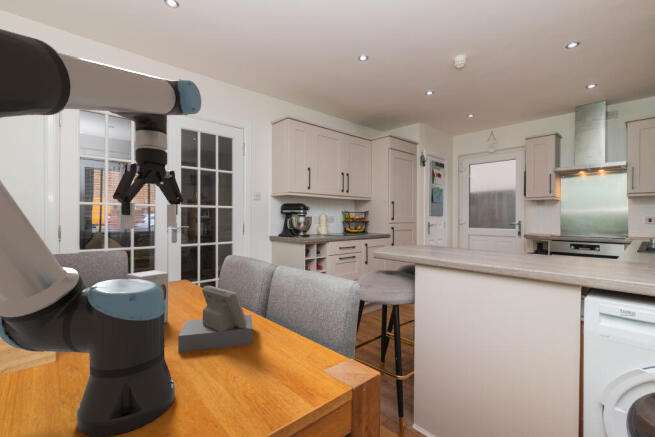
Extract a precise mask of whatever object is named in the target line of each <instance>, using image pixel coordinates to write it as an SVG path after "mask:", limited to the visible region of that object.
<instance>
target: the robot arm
mask: <svg viewBox="0 0 655 437" xmlns="http://www.w3.org/2000/svg"><path fill="white" fill-rule="evenodd" d="M201 108H202V96H201V93H200V90H199V87H198V86H197V84H196V83H195V82H194V81H192V80H188V79H185V80H184V79H181V78H180V79H175V80H172V79H167V78H162V77H158V76H153V75H149V74H145V73H141V72H138V71H135V70H134V71H133V70H129V69H124V68H121V67H117V66H113V65H109V64H104V63H101V62H99V61H98V62H97V61H93V60H89V59H85V58H81V57H77V56H74V55H73V56H72V55H68V54H64V53H61V52H58V51H57V49H55V48H54V47H53V46H52V45H50V44H49V43H47V42H45V41H43V40H42V39H41V40H40V39H37V38H34V37H30V36H27V35H23V34H19V33H16V32H13V31H10V30H5V29H2V28H0V119H1V118H8V117H9V118H10V117H11V118H12V117H21V116H53V115H57V114H59V113H61V112H63V111H65V110H79V111H81V110H82V111H101V112H110V113H111V114H114V115H117V116H119V117H122V118H124V119H127V120H130V121H132V122H133V123H134V124H135V126H134V128H135V131H134V132H135V134H134V135H135V136H134V138H135V140H134V141H135V147H136V149H135V154H134V155H135V162H136V163H135V162H134V163H125V165H124V172H123V175H122V177H121V179H120V180H119V183H118V185H117V187H116V189H115V191H114V193H113V195H112V199H114V200H117V202H118V203H120V204H121V205H120V206H121V208H120V209H121V210H120V212H121V213H120V214H121V215H122V216H123V229H125V230H127V229H129V230H130V229H131V230H133V229H136V222H135V221H136V220H135V219H136V217H135V216H136V206H135V205H136V204H135V202H133V200H134V198H135V197H136V196H137V195H138V193H139V192H140V191H141V190H142V189H143V187H145V185H146V184H147V185H155V186H156V187H158V188H159V190H160V191H161V194H163V196H164V197H165V198H166V200H167V202H168V203H169V204H166V227H167V228H168V227H170V228H171V227H172V228H173V227H176V228H177V225H178V224H177V216H178V213H179V212H178V206H179V205H181V204H182V203H184V198H183V195H182V193H181V190H180V187H179V185H178V182H177V179H176V173H175V172H176V171H174V170H166V166H167V165H168V152H167V150H168V116H188V115H196V114H198V113H199V112H200V110H202V109H201ZM136 175H137V176H136ZM164 312H165V303H164V294H163V290H162V288H161V287H160V286H159V285H158V284H156V283H154V282H151V281H147V280H141V279H127V278H125V279H124V278H117V279H116V278H115V279H107V280H104V281H99V282H97V283H95V284H93V285H91V287H90V286H88V285H87V284H86V282H85V280H84V279H83V278H82V277H81V275H80V273H79V272H78V271H77V270H76V269H75V268H72V267H66V266H61V264H60V262H59V261H58V259H56V257H55V256H54V254H53V253H52V251H51V250H50V249H49V247H48V246H47V244H46V243H45V241H44V240H43V239H42V237H41V236H40V234H39V233H38V231H37V230H36V228H35V227H34V226H33V225H32V223H31V221H30V220H29V219H28V217H27V216H26V215H25V213H24V212H23V210H22V209H21V207H20V206H19V204H18V203H17V202H16V200H15V199H14V197H13V196H12V194H11V193H10V192H9V190H8V189H7V187H6V186H5V185H4V183H3V182H2V180H1V179H0V338H1V339H2V341H3V342H5V343H6V344H7V345H9V346H11V347H13V348H15V349H20V350H23V351H29V352H55V353H57V352H58V353H79V354H80V353H81V354H82V353H83V354H89V376H88V379H87V380H88V381H87V382H86V386H85V389H84V391H83V394H82V398H81V401H80V404H79V405H78V407H77V410H76V428H77V429H78V431H79V432H81V433H82V434H84V435H85V436H89V437H90V436H91V437H108V436H115V435H120V434H123V433H127V432H130V431H133V430H136V429H138V428H141V427H143V426H144V425H147V424H149V423H150V422H152V421H154V420H156V419H157V418H159V417H160V416H161V415H163V413H165V412H166V411H167V410H168V409H169V408H170V407H171V405H172V404H173V402H174V400H175V397H176V395H175V394H176V392H175V390H176V389H175V388H176V387H175V381H174V380H173V378H172V376H171V372H170V369H169V367H168V364H167V361H166V359H165V323H164Z"/></svg>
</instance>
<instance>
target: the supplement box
mask: <svg viewBox="0 0 655 437" xmlns="http://www.w3.org/2000/svg"><path fill="white" fill-rule="evenodd" d="M126 279H141V280H147V281H151V282H154V283H156V284H158V285H159V286H160V287H161V288H162V290H163V294H164V303H165V312H164V324H166V323H168V322H169V272H165V271H160V270H155V269H153V270H148V271H140V272H139V271H138V272H134V273H126Z"/></svg>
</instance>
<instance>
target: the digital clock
mask: <svg viewBox="0 0 655 437" xmlns="http://www.w3.org/2000/svg"><path fill="white" fill-rule="evenodd" d="M201 292H202V295H203V297H204V300H205V303H206V305H205V307H204V308H203V310H202V319H203V325H205V326H207V327H209V328H212V329H214V330H216V331H219V332H222V331H225V330H228V329H231V328H234V327H238V328H244V327H246V325H247V320H246V317H245V315H246V314H245V311H244V309H243V307H242V304H241V301H240V298H239V296H238V294H237V292H235V291H231V290H227V289H224V288H219V287H216V286H213V285H205V286H203V287H202V290H201Z"/></svg>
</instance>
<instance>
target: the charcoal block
mask: <svg viewBox="0 0 655 437" xmlns="http://www.w3.org/2000/svg"><path fill="white" fill-rule="evenodd" d="M244 315H245V317H246V320H247V325H246V327H244V328H238V327H234V328H231V329H228V330H225V331H222V332H219V331H216V330H214V329H212V328H209V327H207V326H205V325H203V318H200V319H199V318H198V319H189V320H188V319H187V320H185V322H184V324H183V326H182V329H181V330H180V332H179V334H178V336H177V341H178V343H177V344H178V345H177V349H178V350H177V351H178V352H177V353H184V352H186V353H187V352H194V351H205V350H209V349H210V350H211V349H220V348H221V349H222V348H228V347H237V346H246V345H252V344H253V340H254V337H253V336H254V333H253V330H254V329H253V328H254V327H253V318H252V317H253V316H252V314H244Z"/></svg>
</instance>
